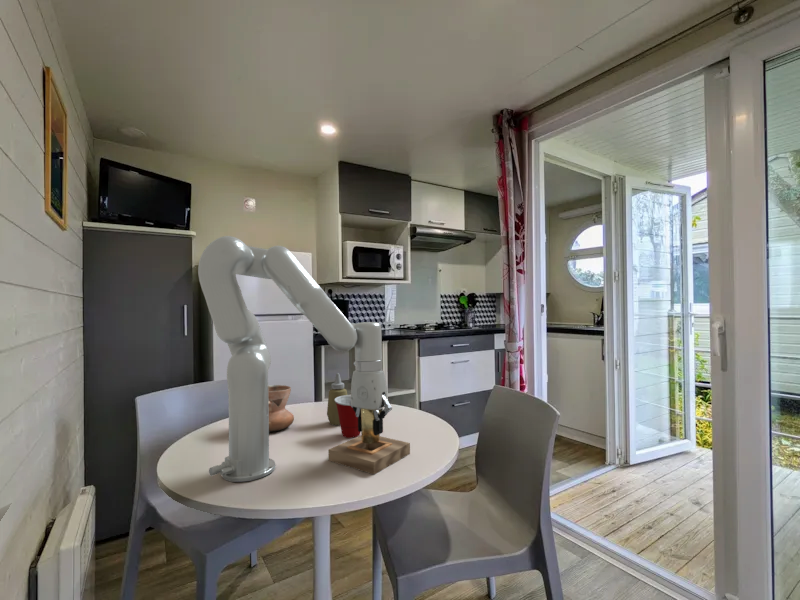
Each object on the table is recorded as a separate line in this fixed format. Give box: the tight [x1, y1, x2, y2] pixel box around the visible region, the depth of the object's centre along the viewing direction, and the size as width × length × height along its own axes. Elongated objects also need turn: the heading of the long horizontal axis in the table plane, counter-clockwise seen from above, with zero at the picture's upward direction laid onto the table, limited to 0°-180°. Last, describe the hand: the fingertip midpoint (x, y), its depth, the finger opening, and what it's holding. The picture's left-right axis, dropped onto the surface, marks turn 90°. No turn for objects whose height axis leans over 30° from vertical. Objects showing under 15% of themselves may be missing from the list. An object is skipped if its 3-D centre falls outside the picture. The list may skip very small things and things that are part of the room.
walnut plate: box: [327, 435, 411, 475], centre depth 103 cm, size 16×16×3 cm
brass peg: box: [360, 408, 381, 444], centre depth 103 cm, size 5×5×10 cm
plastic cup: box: [334, 394, 361, 439], centre depth 122 cm, size 11×11×12 cm
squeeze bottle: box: [326, 372, 348, 426], centre depth 135 cm, size 8×8×18 cm
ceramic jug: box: [268, 384, 295, 433], centre depth 131 cm, size 18×14×14 cm
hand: (370, 431), depth 103 cm, fingers closed on brass peg, 5 cm apart
